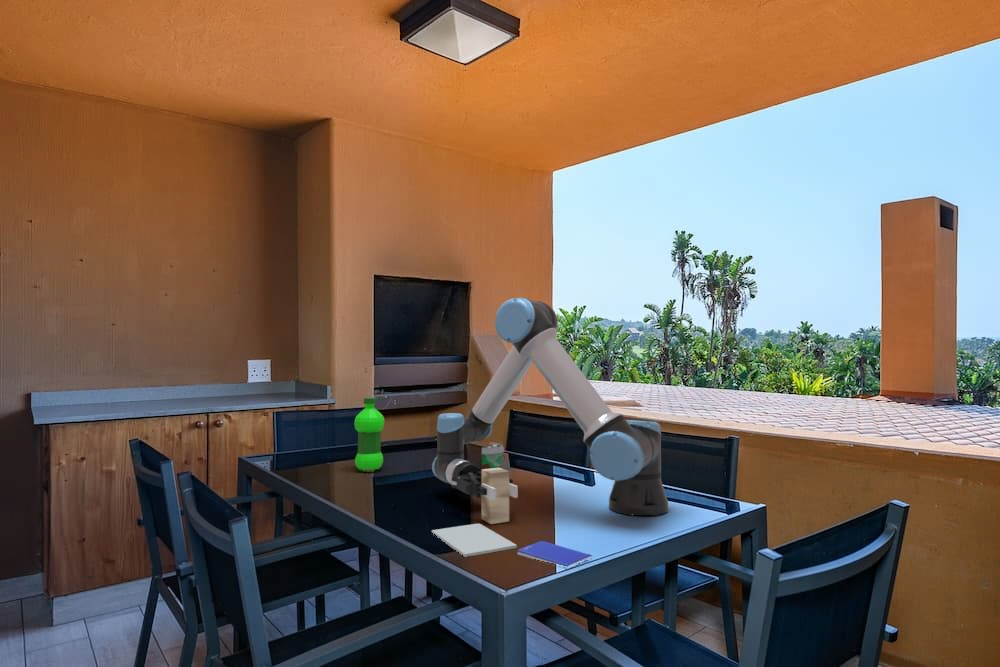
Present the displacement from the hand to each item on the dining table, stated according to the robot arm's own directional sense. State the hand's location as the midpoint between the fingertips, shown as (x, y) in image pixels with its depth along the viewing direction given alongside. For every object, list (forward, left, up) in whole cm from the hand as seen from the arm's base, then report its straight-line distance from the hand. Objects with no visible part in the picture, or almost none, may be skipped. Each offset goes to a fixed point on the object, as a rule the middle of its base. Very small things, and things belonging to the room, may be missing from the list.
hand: (505, 493), depth 140 cm
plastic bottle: (+75, -30, -8) cm, 81 cm away
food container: (+35, -48, -8) cm, 59 cm away
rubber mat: (+1, +12, -8) cm, 15 cm away
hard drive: (-19, +12, -9) cm, 24 cm away
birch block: (+5, -3, -8) cm, 9 cm away
